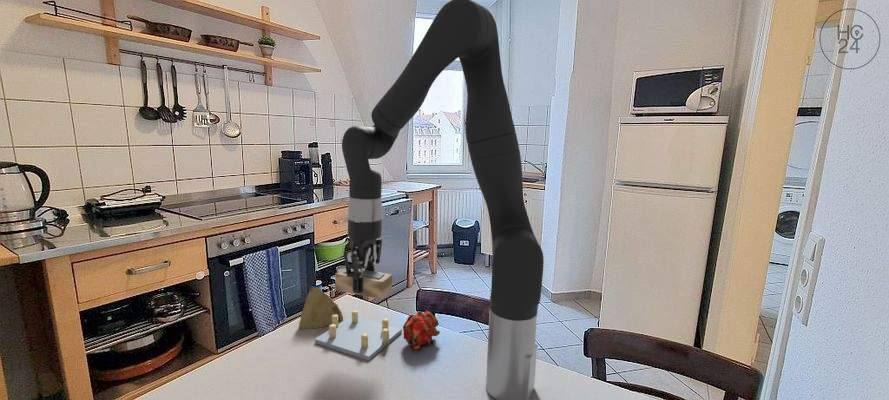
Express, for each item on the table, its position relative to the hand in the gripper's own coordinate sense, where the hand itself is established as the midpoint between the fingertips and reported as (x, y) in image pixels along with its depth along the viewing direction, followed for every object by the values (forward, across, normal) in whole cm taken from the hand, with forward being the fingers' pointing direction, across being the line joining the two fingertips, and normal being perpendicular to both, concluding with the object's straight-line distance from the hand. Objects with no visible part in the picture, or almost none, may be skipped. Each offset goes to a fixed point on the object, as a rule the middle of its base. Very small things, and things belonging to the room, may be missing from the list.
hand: (363, 287), depth 89 cm
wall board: (+15, -4, -3) cm, 16 cm away
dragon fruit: (+15, -6, +13) cm, 21 cm away
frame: (+1, 0, 0) cm, 1 cm away
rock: (+16, -7, -16) cm, 23 cm away
